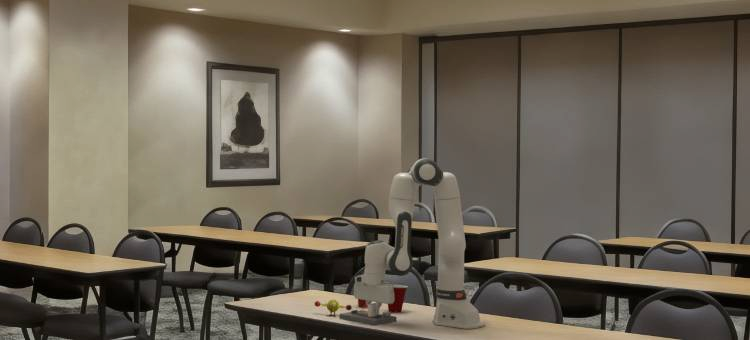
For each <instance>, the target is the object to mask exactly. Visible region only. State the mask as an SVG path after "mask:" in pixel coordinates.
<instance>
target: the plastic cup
mask: <svg viewBox="0 0 750 340" xmlns="http://www.w3.org/2000/svg"><path fill="white" fill-rule="evenodd" d="M393 286H394V288H393V289H394V303H393V304H387V309H388V310H387V311H388V312H390V313H402V310H403V306H404V300H405V297H406V292H407V289H408V287H409V286H408V285H401V284H393Z"/></svg>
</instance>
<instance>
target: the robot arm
mask: <svg viewBox="0 0 750 340" xmlns="http://www.w3.org/2000/svg"><path fill="white" fill-rule="evenodd" d="M390 185H391V186H390V192H389V197H388V213H389V216H390V217H391V219H392V221H393V223H394V227H395V239H394V241H395V243H394V246H391V245H390V244H388V243H386V242H385V241H384V240H379V239H378V240H373V241H370V242H368V243H367V244H366V245H365V251H364V265H365V266H364V267H365V268H364V272H363V273H364V274H361V275H357V276H355V277H354V281H355V283H354V284H353V285H354V286H353V296H354V298H355V299H357V300H358V299H362V300H366V304H367V306H368V304H373V303H376V305H377V306H376V308H374V312H375V313H379V314H380V308H381V307H382V305H383V304H386V305H388V304H393V303H394V289H393V288H394V286H393V285H394V284H393V283H392V282H391V281H390V280H389V281H387V280H386V271H391V273H392V274H394V275H395V276H398V277H403V276H406V275H408V274H409V273H410V272H412V270H413V268H414V267H413V266H414V259H413V256H412V252H411V242H412V241H411V240H412V225H413V224H412V223H413V216H414V210H415V204H416V193H417V190H418V188H419V186H425V185H427V186H430V187H431V189H432V192H433V201H434V211H435V219H436V226H437V237H438V260H437V261H438V263H437V265H438V266H437V267H438V268H437V288H436V291H435V293H436V295H435V297H436V304H435V305H436V306H435V310H434V311H435V312H434V315H433V319H432V322H433V323H434V326H435V325H436V326H443V327H449V328H450V327H451V328H455V329H456V328H457V329H465V330H471V329H472V330H473V329H478V328H483V327H484V326H485V325H486V323H485V322H483V321H480V313H479V310H478V309H477V308H476V307H475V306H474V305H473V304H472V303H471V301H469V299H467V296H468V295H469V293H470V292H466V291H465V289H464V287H465V285H464V282H465V252H466V251H465V250H466V247H467V244H466V237H465V236H466V235H465V234H466V233H465V227H464V219H463V211H462V202H461V195H460V193H461V192H460V188H459V184H458V180H457V177H456V176H455V174H453V173H452V172H448V171H442V169H441V168H440V167H439V165H438V164H437V163H436V162H435V161H434V160H433V159H429V158H420V159H418V160H416V161H415V162H413V164H412V165H411V166H410V168H409V170H408V171H406V172H399V173H397V174H395V175H394V177H393V179H392V181H391V184H390Z"/></svg>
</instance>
